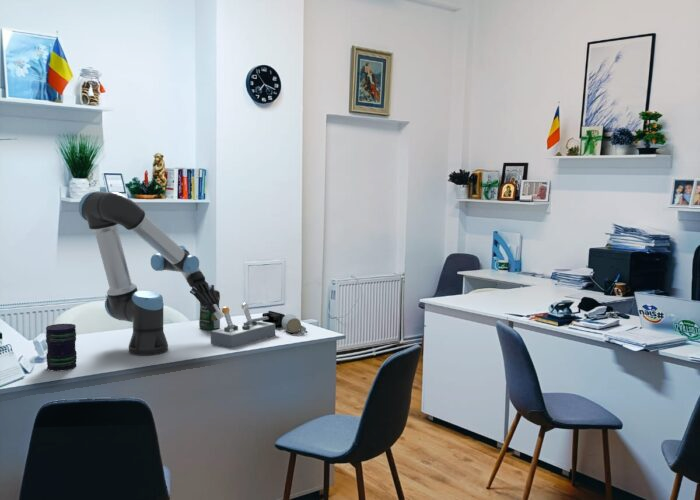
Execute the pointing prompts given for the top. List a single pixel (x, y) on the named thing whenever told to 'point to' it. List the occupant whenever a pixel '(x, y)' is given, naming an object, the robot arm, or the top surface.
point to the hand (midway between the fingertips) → (220, 317)
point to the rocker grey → (261, 318)
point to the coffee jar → (209, 317)
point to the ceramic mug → (292, 323)
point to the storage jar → (61, 346)
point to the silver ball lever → (247, 313)
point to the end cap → (274, 318)
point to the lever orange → (228, 318)
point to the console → (242, 334)
